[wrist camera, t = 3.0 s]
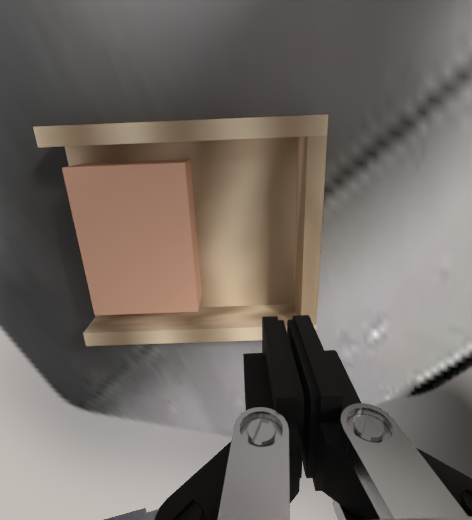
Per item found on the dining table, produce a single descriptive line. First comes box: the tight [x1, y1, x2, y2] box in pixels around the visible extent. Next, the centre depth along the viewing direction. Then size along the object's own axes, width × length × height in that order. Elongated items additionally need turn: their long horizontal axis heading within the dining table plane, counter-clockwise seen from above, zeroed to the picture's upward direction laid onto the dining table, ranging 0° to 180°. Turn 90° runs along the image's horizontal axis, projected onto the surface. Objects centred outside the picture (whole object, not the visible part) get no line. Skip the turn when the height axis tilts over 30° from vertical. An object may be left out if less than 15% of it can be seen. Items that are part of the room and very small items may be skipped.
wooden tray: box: [33, 114, 328, 346], centre depth 25 cm, size 18×16×4 cm
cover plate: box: [62, 159, 202, 315], centre depth 25 cm, size 8×11×3 cm
